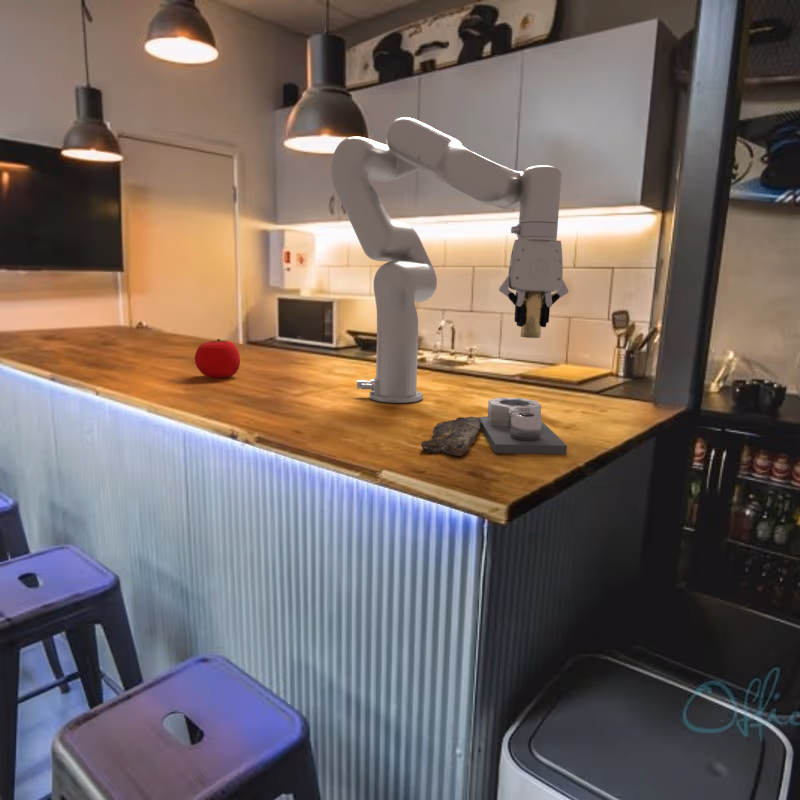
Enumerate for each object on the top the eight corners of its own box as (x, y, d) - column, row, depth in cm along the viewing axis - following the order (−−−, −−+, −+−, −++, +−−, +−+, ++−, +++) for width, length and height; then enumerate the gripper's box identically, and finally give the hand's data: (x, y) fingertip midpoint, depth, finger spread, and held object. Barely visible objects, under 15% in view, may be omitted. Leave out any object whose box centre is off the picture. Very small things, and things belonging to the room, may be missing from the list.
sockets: (501, 440, 105) (502, 417, 104) (485, 417, 122) (486, 396, 121) (555, 441, 105) (557, 418, 104) (532, 417, 122) (533, 397, 121)
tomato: (234, 381, 162) (232, 341, 160) (189, 380, 162) (188, 340, 160) (245, 374, 174) (244, 337, 172) (204, 373, 174) (203, 336, 172)
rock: (442, 424, 121) (443, 411, 121) (482, 428, 119) (483, 415, 119) (419, 457, 101) (420, 441, 101) (467, 462, 100) (468, 446, 99)
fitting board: (494, 453, 103) (495, 444, 102) (477, 424, 122) (478, 416, 122) (566, 454, 103) (567, 445, 103) (538, 425, 123) (538, 417, 122)
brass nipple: (523, 337, 124) (526, 286, 122) (518, 335, 128) (521, 285, 126) (542, 338, 124) (546, 286, 122) (537, 336, 128) (541, 286, 126)
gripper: (499, 230, 118) (493, 327, 121) (585, 233, 119) (577, 329, 122) (491, 233, 125) (486, 323, 129) (573, 235, 126) (565, 325, 130)
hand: (531, 325), depth 125 cm, fingers closed on brass nipple, 4 cm apart
